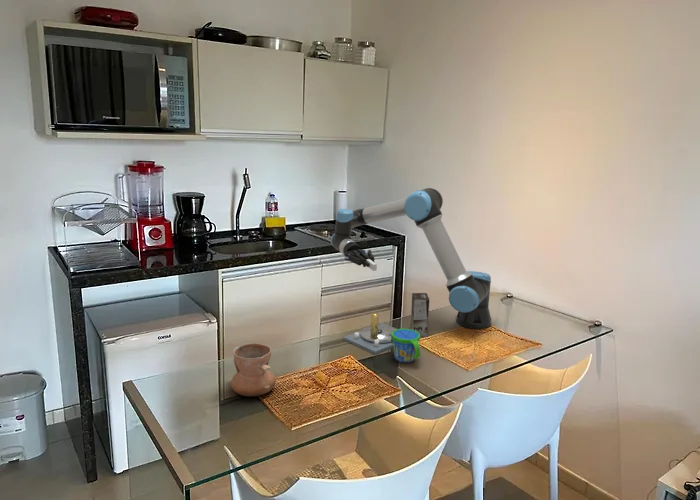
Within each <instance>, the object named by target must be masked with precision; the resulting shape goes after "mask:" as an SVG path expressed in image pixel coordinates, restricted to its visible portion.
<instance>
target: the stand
mask: <svg viewBox="0 0 700 500" xmlns="http://www.w3.org/2000/svg"><path fill="white" fill-rule="evenodd" d="M378 325H382V326H388V327H391V328H394V329H395V330H397V329H398V328H396V327H393V326H390V325H389V324H386V323H384V322H382V323H378ZM342 338H343V339H342V340H343V341H345V342H347V343H349V342H350V343H349V344H351V343H352V345H353V346H355V347H359V348H360V349H363V350H364V351H367V352H369V353H371V354H373V355H378V354H380V353H383V352H385V351H387V350H390V349H392V348H393V344H392V343H391V342H389V343H379V340H378V339H376V340H375V342H374V343H372V342H368V341H366V340H364V339H362V337H361V330H359V331H355V332H354V333H351V334H349V335H345V336H343V337H342Z"/></svg>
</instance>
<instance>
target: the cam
mask: <svg viewBox="0 0 700 500" xmlns="http://www.w3.org/2000/svg"><path fill="white" fill-rule="evenodd" d="M379 317H380V314H379V313H378V312H371V313H370V325H368V326H365V327H363V328H362V329H360V331H361V337H362V339H364V340H366V341H368V342H372V343H374V342H375V340H376V339H378V340H379V343H389V342H391V334H392V332H393V331H394V330H395V329H394V328H395V327H394V328H391V327H392V326H391V327H388V326H389V325H388V326H382V325H379V322H380V321H379Z"/></svg>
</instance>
